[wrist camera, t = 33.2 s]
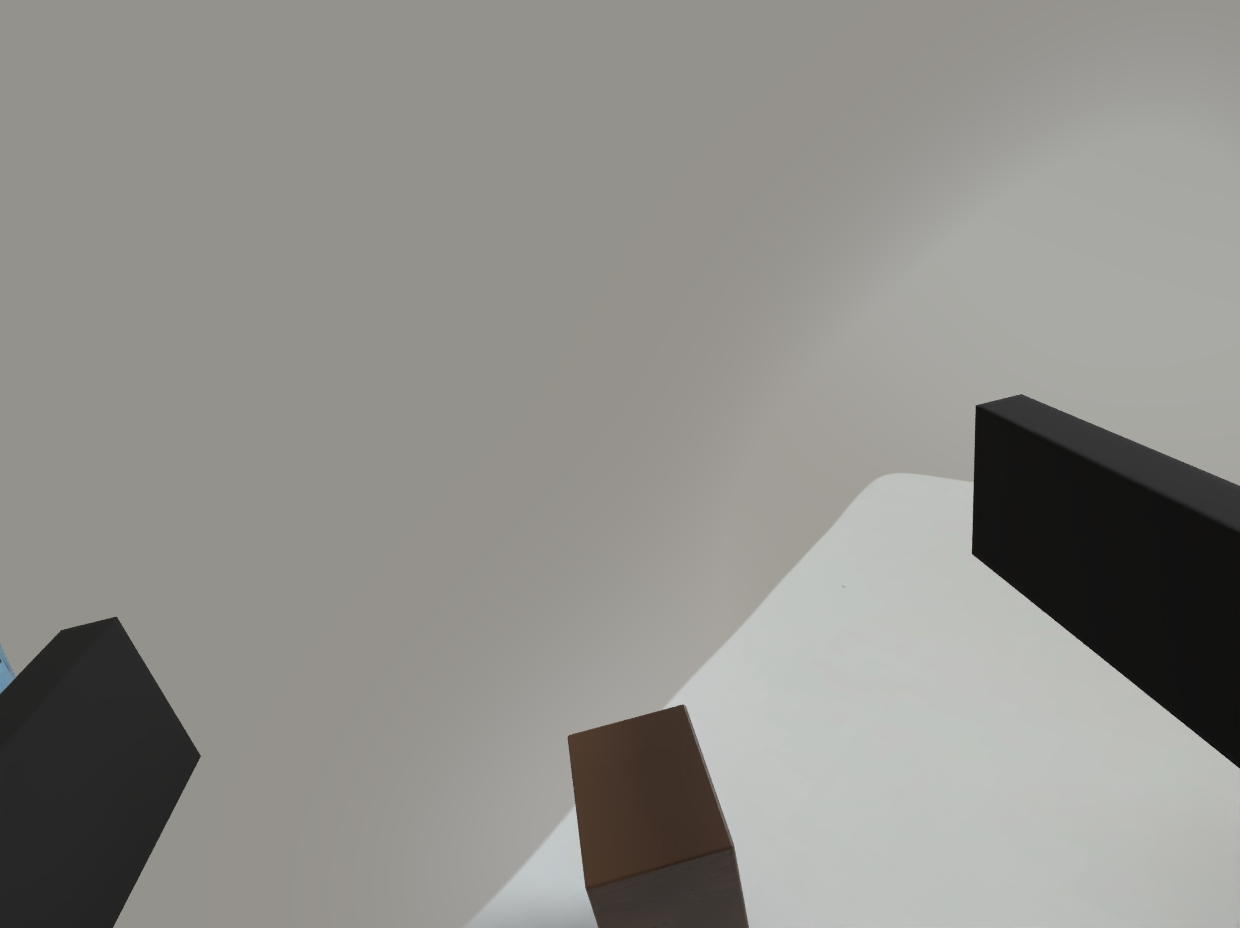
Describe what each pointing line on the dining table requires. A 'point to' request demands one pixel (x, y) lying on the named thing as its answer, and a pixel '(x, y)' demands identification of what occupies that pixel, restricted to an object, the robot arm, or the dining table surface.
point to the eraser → (653, 827)
